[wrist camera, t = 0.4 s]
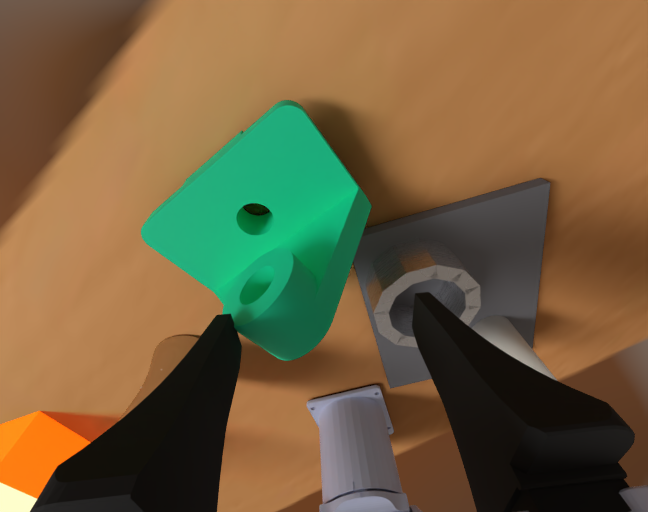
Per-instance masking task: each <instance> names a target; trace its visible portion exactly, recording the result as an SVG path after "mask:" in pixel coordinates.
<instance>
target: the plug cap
mask: <svg viewBox="0 0 648 512" xmlns="http://www.w3.org/2000/svg"><path fill="white" fill-rule="evenodd" d="M472 329H473V330H474V331H475V332H477V333H478V334H479V335H481V336H482V337H483V338H485V339H486V340H487V341H489V342H490V343H492V344H493V345H495V346H496V347H498V348H499V349H501V350H502V351H504V352H506V353H507V354H509V355H510V356H512V357H514V358H515V359H517V360H519V361H520V362H522V363H524V364H526V365H527V366H529V367H531V368H533V369H535V370H536V371H538V372H540V373H542V374H544V375H546V376H548V377H550V378H552V379H554V380H556V381H557V379H556V378H555V377H554V376H553V375H552V373H551V372H550V371H549V370H548V368H547V367H546V366H545V365H544V363H543V362H542V361H541V360H540V358H539V357H538V356H537V355H536V353H535V352H534V351H533V350H532V348H531V347H530V346H529V345H528V343H527V342H526V341H525V340H524V339H523V337H522V336H521V335H520V334H519V332H518V331H517V330H516V329H515V327H514V326H513V325H512V324H511V322H510V321H509V320H508V319H507V318H506V317H503V316H498V315H495V316H489V317H486V318H484V319H482V320H480V321H479V322H477V323H476V324H475V325H474V326H473V327H472Z"/></svg>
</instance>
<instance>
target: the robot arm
mask: <svg viewBox="0 0 648 512" xmlns="http://www.w3.org/2000/svg"><path fill="white" fill-rule="evenodd" d="M412 330H413V333H414V336H415V339H416V342H417V346H418V349H419V351H420V353H421V355H422V358H423V360H424V362H425V364H426V366H427V369H428V371H429V373H430V375H431V377H432V379H433V382H434V384H435V386H436V388H437V390H438V392H439V395H440V397H441V400H442V402H443V404H444V407H445V410H446V413H447V416H448V419H449V421H450V424H451V427H452V430H453V433H454V436H455V439H456V442H457V446H458V449H459V452H460V455H461V458H462V461H463V465H464V468H465V471H466V474H467V478H468V481H469V484H470V488H471V491H472V495H473V499H474V502H475V506H476V509H477V512H648V485H645V486H636V487H629V486H628V484H627V483H626V482H625V480H624V478H626V477H627V474H626V472H625V471H624V470H623V469H622V467H621V466H620V465H619V463H618V461H619V460H620V459H621V458H622V457H623V456H624V455H625V453H626V452H627V451H628V450H629V449H630V448H631V446H632V445H633V443H634V437H635V436H634V435H635V434H634V432H633V431H632V429H631V428H630V427H629V426H628V425H627V424H626V423H625V421H624V420H623V419H622V418H621V417H620V416H619V415H618V414H617V413H616V412H615V410H614V409H613V408H612V407H611V406H610V405H609V404H608V403H606V402H604V401H601V400H599V399H596V398H594V397H592V396H590V395H587V394H585V393H583V392H580V391H578V390H575V389H573V388H571V387H569V386H566V385H564V384H562V383H560V382H558V381H556V380H554V379H552V378H550V377H548V376H546V375H544V374H542V373H540V372H538V371H536V370H535V369H533V368H531V367H529V366H527V365H526V364H524V363H522V362H520V361H519V360H517V359H515V358H514V357H512V356H510V355H509V354H507V353H506V352H504V351H502V350H501V349H499V348H498V347H496V346H495V345H493V344H492V343H490V342H489V341H487V340H486V339H485V338H483V337H482V336H481V335H479V334H478V333H477V332H475V331H474V330H473V329H471V328H470V327H469V326H468V325H467V324H465V323H464V322H463V321H462V320H460V319H459V318H458V317H457V316H456V315H455V314H453V313H452V312H451V311H450V310H449V309H448V308H447V307H445V306H444V305H443V304H442V303H441V302H440V301H439V300H438V299H436V298H435V297H434V296H433V295H432V294H431V293H430V292H423V293H415V299H414V309H413V320H412ZM241 349H242V345H241V342H240V339H239V336H238V333H237V330H236V329H235V328H234V321H233V318H232V315H231V314H222V315H217V316H216V317H215V318H214V319H213V321H212V322H211V323H210V325H209V326H208V327H207V329H206V330H205V331H204V333H203V334H202V335H201V336H200V338H199V339H198V340H197V342H196V343H195V344H194V345H193V347H192V348H191V349H190V350H189V352H188V353H187V354H186V355H185V357H184V358H183V359H182V360H181V361H180V363H179V364H178V365H177V366H176V367H175V368H174V369H173V371H172V372H171V373H170V374H169V375H168V376H167V377H166V378H165V379H164V380H163V381H162V382H161V384H160V385H158V386H157V387H156V388H155V389H154V390H153V391H152V392H151V393H150V394H149V395H148V396H147V397H146V398H145V399H144V400H143V401H142V402H140V403H139V404H138V405H137V406H136V407H135V408H134V409H133V410H131V411H130V412H129V413H128V414H127V415H126V416H125V417H123V418H122V419H121V420H120V421H118V422H117V423H116V424H115V425H114V426H112V427H111V428H110V429H108V430H107V431H106V432H105V433H103V434H102V435H101V436H99V437H98V438H97V439H95V440H94V441H93V442H91V443H90V444H88V445H87V446H86V447H84V448H83V449H81V450H80V451H78V452H77V453H76V454H74V455H73V456H71V457H70V458H68V459H67V460H66V461H64V462H63V463H61V464H60V465H58V466H57V467H56V469H55V471H54V472H53V474H52V475H51V477H50V479H49V480H48V482H47V484H46V485H45V487H44V489H43V490H42V492H41V494H40V495H39V497H38V499H37V500H36V502H35V504H34V505H33V507H32V509H31V510H30V512H217V503H218V492H219V482H220V473H221V464H222V455H223V447H224V440H225V432H226V426H227V421H228V416H229V412H230V408H231V404H232V399H233V395H234V391H235V386H236V382H237V378H238V373H239V368H240V360H241ZM307 408H308V409H309V411H310V413H311V415H312V416H313V418H314V420H315V422H316V423H317V425H318V427H319V432H320V453H321V473H322V493H323V504H321V505H320V507H319V508H320V512H422V511H421V510H420V509H419V508H418V507H417V506H416V505H412V506H410V507H409V504H408V500H407V496H406V493H403V492H402V488H401V484H400V480H399V475H398V471H397V467H396V463H395V458H394V454H393V450H392V446H391V441H390V437H389V435H390V434H393V433H394V430H393V426H392V423H391V420H390V417H389V414H388V411H387V408H386V404H385V401H384V398H383V395H382V392H381V389H380V386H378V385H373V386H368V387H364V388H360V389H356V390H351V391H347V392H343V393H339V394H334V395H330V396H326V397H322V398H317V399H313V400H309V401H308V402H307Z"/></svg>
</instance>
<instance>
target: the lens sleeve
mask: <svg viewBox="0 0 648 512" xmlns="http://www.w3.org/2000/svg"><path fill="white" fill-rule="evenodd" d="M430 279H440V280H444V282H443V284H442V286H441V288H440V290H439V292H437V293H436V294H435V295H433V296H434V297H435V298H436V299H438V300H439V301H440V302H441V303H442V304H443V305H444V306H445V307H447V308H448V309H449V310H450V311H451V312H452V313H453V314H455V315H456V316H457V317H458V318H459V319H460V320H462V321H463V322H464V323H465V324H467V325H468V326H469V324H470V323H471V321H472V320H473V318H474V316H475V315H476V313H477V312H478V310H479V309H480V307H481V299H480V285H479V284H478V283H477V281H476V280H475V279H474V278H473V276H472V275H471V274H470V273H469V271H468V270H467V269H466V268H465V266H464V265H463V264H462V263H461V261H460V260H459V259H458V258H457V257H456V256H455V255H454V254H453V252H452V251H451V250H450V249H449V248H448V247H447V246H446V245H445V244H444V243H442V242H437V241H432V240H426V239H421V238H417V239H413V240H410V241H406V242H402V243H399V244H395V245H392V246H391V247H390V248H388V249H387V250H386V251H385V252H384V253H383V254H381V255H380V256H379V257H378V258H377V259H376V260H374V261H373V262H372V264H371V267H370V270H369V272H368V275H367V278H366V280H365V286H366V290H367V293H368V297H369V300H370V304H371V307H372V311H373V314H374V318H375V321H376V325H377V328H378V332H379V333H380V334H381V335H383V336H384V337H386V338H387V339H388V340H390V341H391V342H393V343H394V344H395V345H401V346H409V347H417V348H418V346H417V342H416V339H415V336H414V333H413V330H412V320H413V309H414V305H410V306H403V305H397V304H393V302H394V300H395V297H396V296H398V295H399V294H400V293H402V292H403V291H404V290H405V289H407V288H408V287H409V286H411V285H412V284H415V283H419V282H423V281H426V280H430Z"/></svg>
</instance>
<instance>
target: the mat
mask: <svg viewBox="0 0 648 512" xmlns="http://www.w3.org/2000/svg"><path fill="white" fill-rule="evenodd" d="M549 191H550V182H548V181H546V180H544V179H542V178H539V179H535V180H532V181H528V182H525V183H521V184H518V185H514V186H511V187H507V188H504V189H500V190H497V191H493V192H490V193H487V194H483V195H480V196H476V197H473V198H469V199H466V200H462V201H459V202H455V203H452V204H448V205H445V206H441V207H438V208H435V209H431V210H428V211H424V212H421V213H417V214H414V215H410V216H407V217H403V218H400V219H396V220H393V221H389V222H386V223H383V224H379V225H376V226H372V227H369V228H365V229H364V231H363V234H362V236H361V239H360V242H359V245H358V248H357V251H356V254H355V257H354V260H353V263H354V267H355V270H356V274H357V277H358V280H359V284H360V287H361V291H362V294H363V297H364V301H365V304H366V308H367V311H368V314H369V318H370V321H371V325H372V328H373V332H374V335H375V338H376V342H377V345H378V349H379V352H380V355H381V359H382V362H383V366H384V369H385V372H386V376H387V379H388V383H389V386H390V388H394V387H398V386H402V385H407V384H411V383H415V382H420V381H424V380H428V379H432V377H431V375H430V373H429V371H428V369H427V366H426V364H425V362H424V360H423V358H422V355H421V353H420V351H419V349H418V348H417V347H409V346H401V345H395V344H394V343H393V342H391V341H390V340H388V339H387V338H386V337H384V336H383V335H381V334H380V333H379V332H378V328H377V325H376V321H375V318H374V314H373V311H372V307H371V304H370V300H369V297H368V293H367V290H366V286H365V280H366V278H367V275H368V272H369V270H370V267H371V264H372V262H373V261H374V260H376V259H377V258H378V257H379V256H380V255H381V254H383V253H384V252H385V251H386V250H387V249H388V248H390V247H391V246H392V245H395V244H399V243H402V242H406V241H410V240H413V239H417V238H421V239H426V240H432V241H437V242H442V243H444V244H445V245H446V246H447V247H448V248H449V249H450V250H451V251H452V252H453V254H454V255H455V256H456V257H457V258H458V259H459V260H460V261H461V263H462V264H463V265H464V266H465V268H466V269H467V270H468V271H469V273H470V274H471V275H472V276H473V278H474V279H475V280H476V281H477V283H478V284H479V285H480V299H481V307H480V309H479V310H478V312H477V313H476V315H475V316H474V318H473V320H472V321H471V323H470V324H469V327H470V328H471V329H472V327H473V326H474V325H475V324H476V323H477V322H479V321H480V320H482V319H484V318H486V317H489V316H495V315H498V316H503V317H506V318H507V319H508V320H509V321H510V322H511V324H512V325H513V326H514V327H515V329H516V330H517V331H518V332H519V334H520V335H521V336H522V337H523V339H524V340H525V341H526V342H527V343H528V345H529V346H530V347H531V348H533V339H534V329H535V320H536V311H537V302H538V292H539V283H540V274H541V265H542V256H543V246H544V237H545V228H546V219H547V209H548V200H549ZM443 282H444V280H440V279H430V280H426V281H423V282H419V283H415V284H412V285H411V286H409V287H408V288H407V289H405V290H404V291H403V292H402V293H400V294H399V295H398V296H396V297H395V300H394V302H393V304H397V305H403V306H410V305H414V299H415V293H423V292H430V293H431V294H432V295H435V294H436V293H437V292H439V290H440V288H441V286H442V284H443Z"/></svg>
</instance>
